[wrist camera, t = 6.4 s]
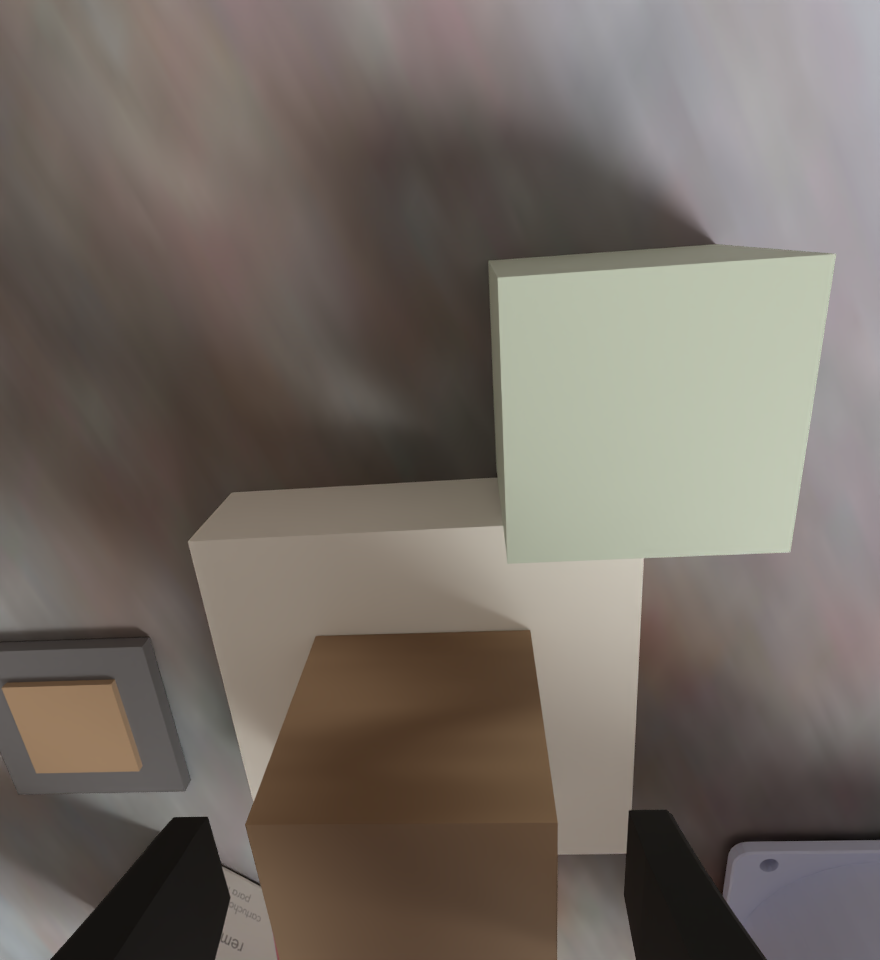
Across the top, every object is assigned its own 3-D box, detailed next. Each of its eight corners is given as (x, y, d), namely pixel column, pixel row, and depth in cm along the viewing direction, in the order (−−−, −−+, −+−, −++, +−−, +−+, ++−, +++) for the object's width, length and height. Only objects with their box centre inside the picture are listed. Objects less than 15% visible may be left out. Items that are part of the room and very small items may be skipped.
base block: (612, 463, 15) (645, 518, 12) (604, 757, 18) (629, 853, 15) (238, 484, 15) (187, 541, 13) (297, 764, 19) (267, 858, 16)
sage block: (713, 244, 13) (836, 254, 8) (696, 456, 14) (789, 551, 10) (488, 260, 13) (497, 277, 9) (496, 466, 15) (507, 563, 10)
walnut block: (530, 630, 13) (558, 822, 9) (533, 790, 15) (557, 1015, 11) (315, 635, 13) (245, 824, 9) (342, 792, 15) (293, 1011, 11)
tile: (149, 637, 17) (138, 651, 16) (190, 780, 18) (182, 797, 18) (-31, 643, 17) (-49, 658, 16) (27, 783, 19) (13, 800, 18)
